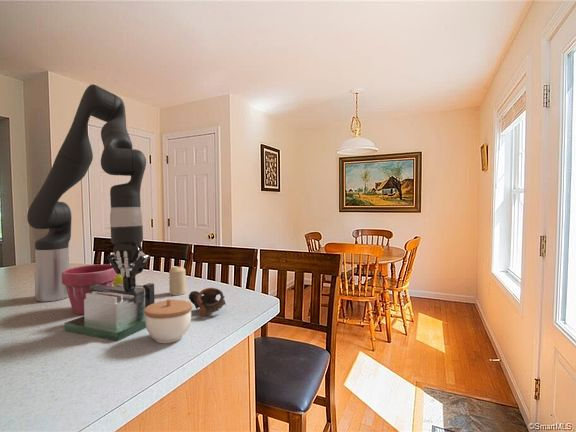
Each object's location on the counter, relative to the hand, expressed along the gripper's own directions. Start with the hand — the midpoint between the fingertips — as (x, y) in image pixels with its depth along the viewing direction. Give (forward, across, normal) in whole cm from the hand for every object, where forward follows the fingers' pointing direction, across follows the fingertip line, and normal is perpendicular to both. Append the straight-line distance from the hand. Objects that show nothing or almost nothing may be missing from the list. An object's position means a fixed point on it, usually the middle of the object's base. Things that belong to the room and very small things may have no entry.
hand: (129, 290), depth 84 cm
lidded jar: (+10, -14, +2) cm, 18 cm away
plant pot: (+9, +23, -6) cm, 25 cm away
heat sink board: (+10, +5, 0) cm, 11 cm away
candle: (+9, +10, -30) cm, 33 cm away
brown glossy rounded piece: (+10, -12, -17) cm, 23 cm away
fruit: (+9, +32, -26) cm, 42 cm away
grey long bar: (+3, +5, 0) cm, 5 cm away
